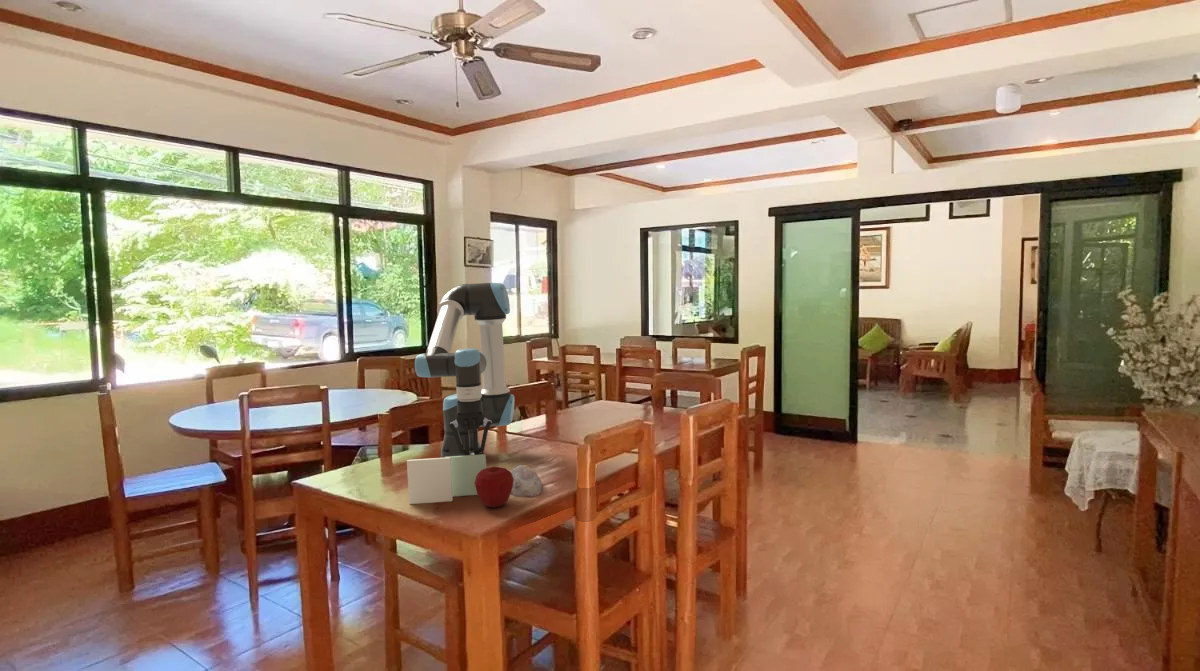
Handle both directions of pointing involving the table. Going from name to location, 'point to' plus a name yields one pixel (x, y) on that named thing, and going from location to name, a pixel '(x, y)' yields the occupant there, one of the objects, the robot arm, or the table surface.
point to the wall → (429, 480)
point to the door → (466, 473)
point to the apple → (494, 486)
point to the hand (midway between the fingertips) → (473, 474)
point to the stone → (525, 482)
